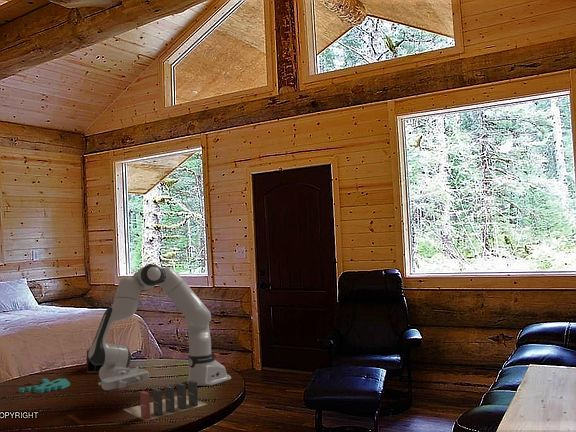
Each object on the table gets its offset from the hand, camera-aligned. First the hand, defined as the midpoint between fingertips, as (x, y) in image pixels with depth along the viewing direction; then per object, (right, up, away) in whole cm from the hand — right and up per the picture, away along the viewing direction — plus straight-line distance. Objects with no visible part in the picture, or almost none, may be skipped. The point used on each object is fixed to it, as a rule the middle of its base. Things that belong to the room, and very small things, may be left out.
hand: (132, 382), depth 233 cm
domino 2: (+17, -11, -4) cm, 20 cm away
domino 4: (+25, -10, +3) cm, 27 cm away
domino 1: (+13, -11, -7) cm, 18 cm away
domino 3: (+21, -11, 0) cm, 23 cm away
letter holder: (-42, -19, +86) cm, 98 cm away
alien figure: (-58, -18, +50) cm, 78 cm away
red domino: (+8, -11, -11) cm, 17 cm away
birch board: (+13, -12, +2) cm, 18 cm away
